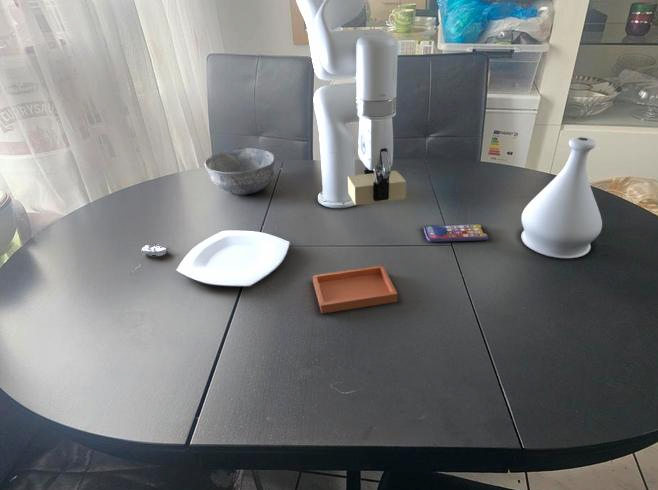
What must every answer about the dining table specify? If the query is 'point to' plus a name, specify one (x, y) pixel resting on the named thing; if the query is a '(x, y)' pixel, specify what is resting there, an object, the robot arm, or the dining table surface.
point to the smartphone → (455, 232)
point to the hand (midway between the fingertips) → (376, 192)
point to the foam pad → (363, 188)
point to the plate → (234, 258)
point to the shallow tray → (353, 289)
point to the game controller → (153, 250)
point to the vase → (564, 209)
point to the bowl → (241, 170)
